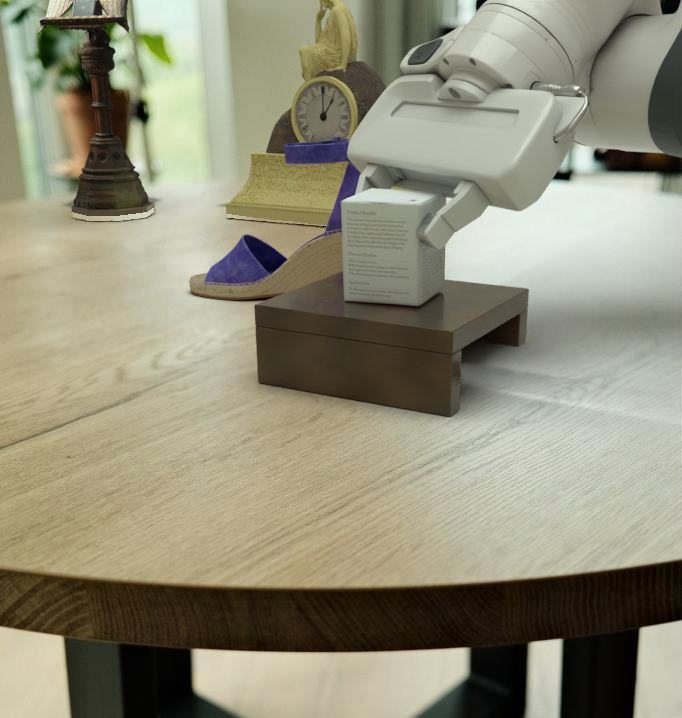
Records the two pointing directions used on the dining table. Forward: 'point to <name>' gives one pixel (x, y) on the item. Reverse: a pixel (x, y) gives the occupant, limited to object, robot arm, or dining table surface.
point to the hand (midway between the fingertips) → (387, 232)
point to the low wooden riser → (383, 341)
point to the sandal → (268, 266)
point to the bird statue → (101, 112)
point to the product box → (390, 247)
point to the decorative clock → (313, 127)
